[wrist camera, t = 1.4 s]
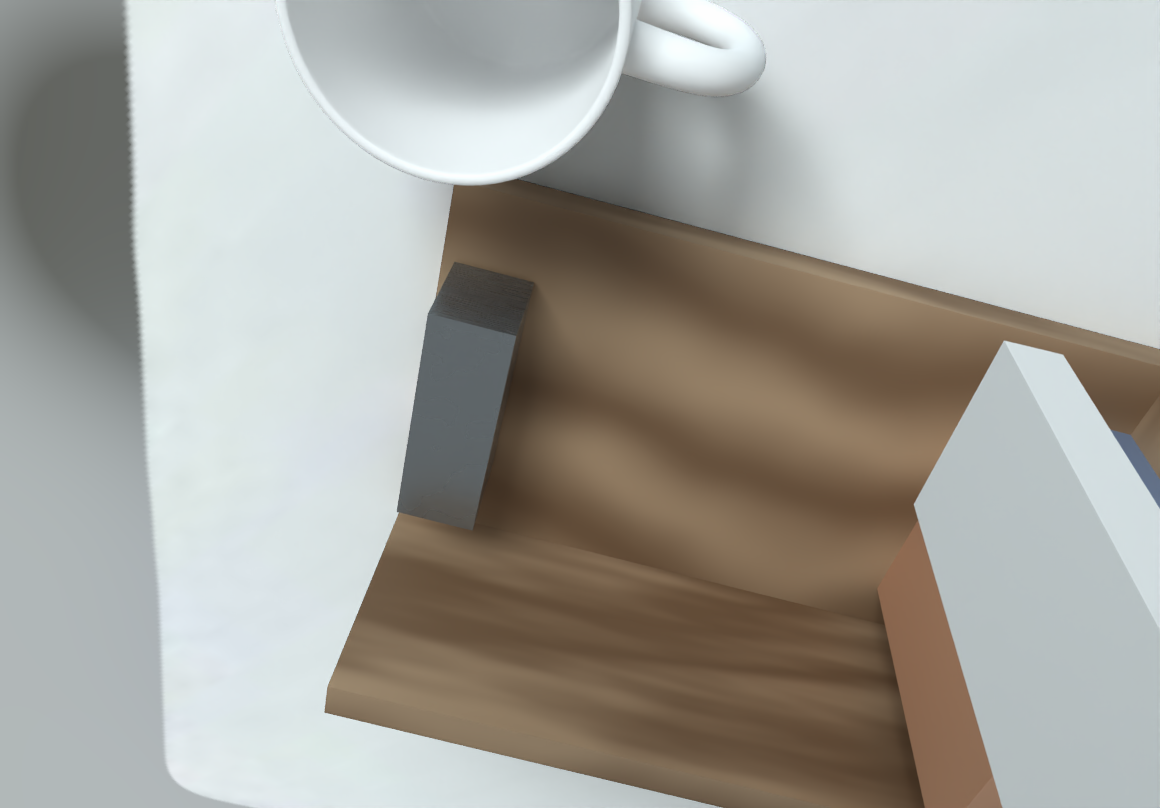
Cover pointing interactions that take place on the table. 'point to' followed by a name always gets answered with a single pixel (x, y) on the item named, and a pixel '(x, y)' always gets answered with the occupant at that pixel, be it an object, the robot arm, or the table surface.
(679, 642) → the wooden book rack
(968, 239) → the table surface
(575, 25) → the cup
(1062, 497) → the robot arm
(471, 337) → the grey rectangular block
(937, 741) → the books
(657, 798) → the table surface
